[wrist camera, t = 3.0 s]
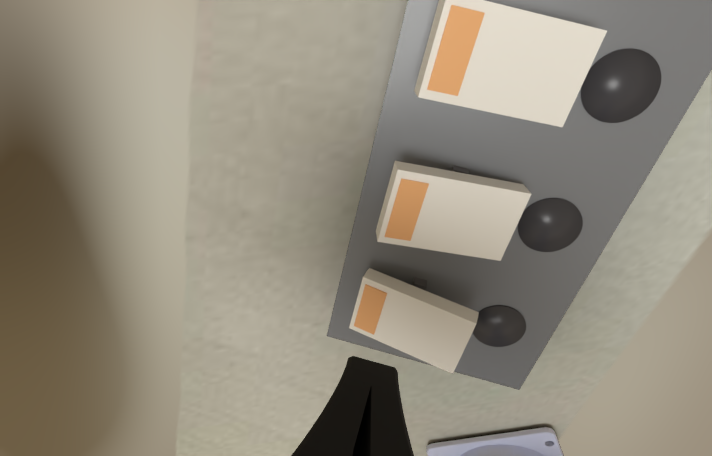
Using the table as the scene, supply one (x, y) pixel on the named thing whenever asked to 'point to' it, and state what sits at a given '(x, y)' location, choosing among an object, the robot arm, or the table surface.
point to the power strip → (531, 173)
